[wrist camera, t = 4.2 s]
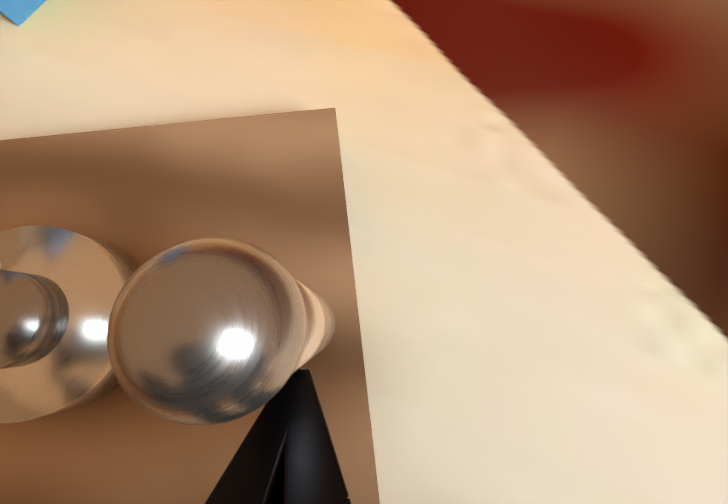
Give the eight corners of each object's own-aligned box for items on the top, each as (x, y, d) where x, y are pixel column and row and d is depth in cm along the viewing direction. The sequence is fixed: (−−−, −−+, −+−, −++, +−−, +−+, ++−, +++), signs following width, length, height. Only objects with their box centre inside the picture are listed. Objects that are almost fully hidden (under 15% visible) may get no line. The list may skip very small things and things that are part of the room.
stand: (389, 592, 15) (395, 646, 12) (-135, 668, 14) (-239, 741, 12) (337, 130, 18) (334, 101, 16) (-82, 172, 18) (-152, 148, 15)
